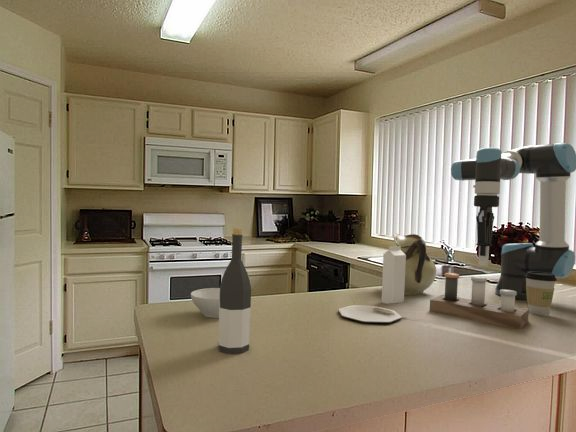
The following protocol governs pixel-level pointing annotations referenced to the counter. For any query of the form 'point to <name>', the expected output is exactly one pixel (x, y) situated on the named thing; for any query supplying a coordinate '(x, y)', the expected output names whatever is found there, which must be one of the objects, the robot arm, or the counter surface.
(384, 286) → the milk
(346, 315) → the plate
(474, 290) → the knob mid
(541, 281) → the coffee cup
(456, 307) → the mount
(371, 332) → the counter surface
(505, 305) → the knob left
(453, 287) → the pot knob
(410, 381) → the counter surface
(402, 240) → the pitcher
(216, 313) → the bowl
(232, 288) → the wine bottle
